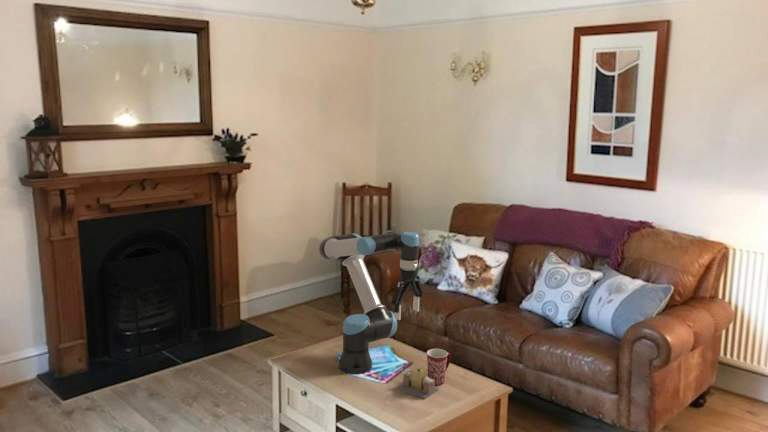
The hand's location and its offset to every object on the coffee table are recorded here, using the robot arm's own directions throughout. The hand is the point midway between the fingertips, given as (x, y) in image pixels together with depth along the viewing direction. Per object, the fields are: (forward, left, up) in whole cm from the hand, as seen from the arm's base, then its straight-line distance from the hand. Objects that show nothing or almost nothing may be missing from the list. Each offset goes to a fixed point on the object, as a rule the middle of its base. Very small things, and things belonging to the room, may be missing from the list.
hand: (406, 314), depth 277 cm
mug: (+15, +5, -29) cm, 32 cm away
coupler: (+13, -8, -27) cm, 31 cm away
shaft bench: (+13, -8, -28) cm, 32 cm away
